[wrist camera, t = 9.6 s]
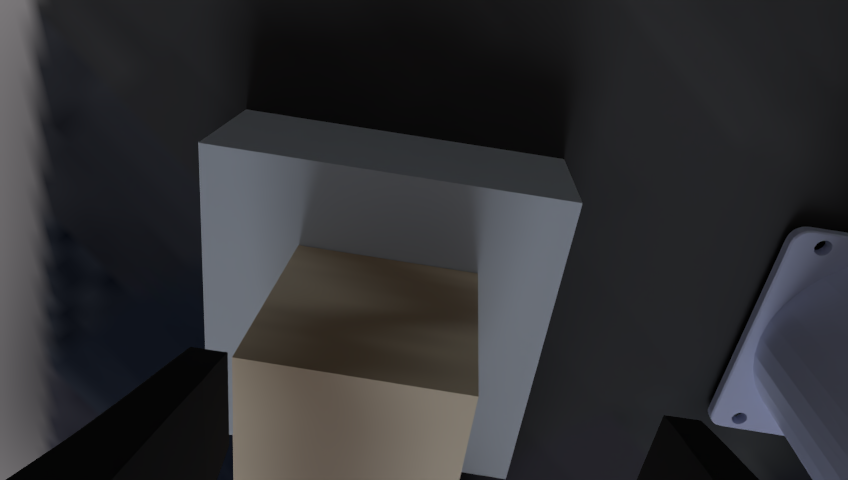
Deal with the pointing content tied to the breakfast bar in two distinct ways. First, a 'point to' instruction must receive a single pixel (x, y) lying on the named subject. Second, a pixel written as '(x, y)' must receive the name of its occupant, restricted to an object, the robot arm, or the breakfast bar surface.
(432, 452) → the maple cube
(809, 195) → the breakfast bar surface
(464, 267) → the grey base block
